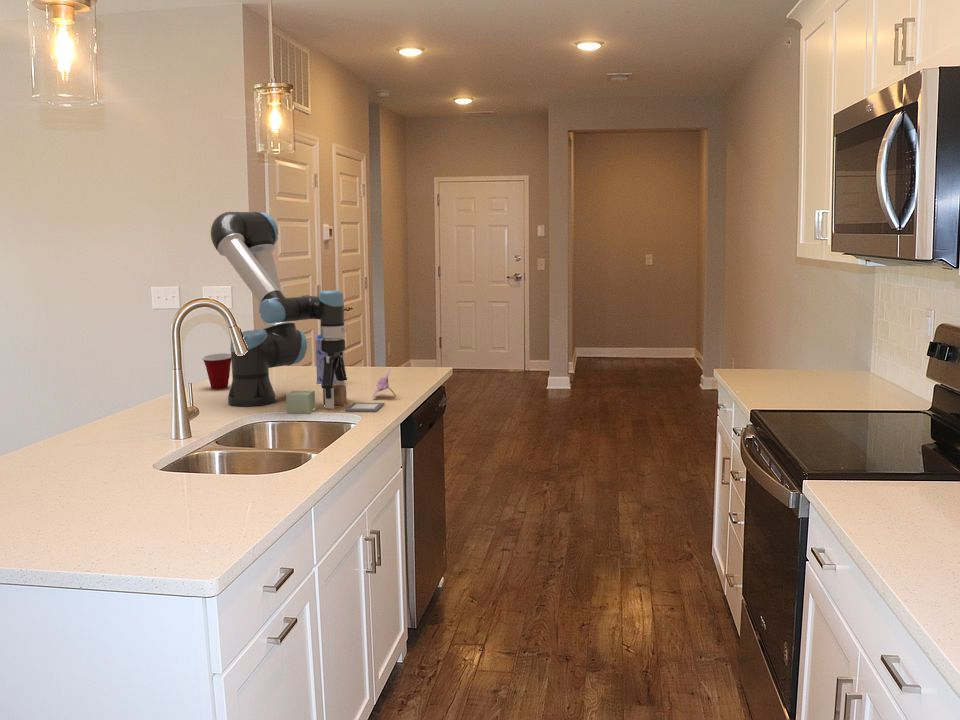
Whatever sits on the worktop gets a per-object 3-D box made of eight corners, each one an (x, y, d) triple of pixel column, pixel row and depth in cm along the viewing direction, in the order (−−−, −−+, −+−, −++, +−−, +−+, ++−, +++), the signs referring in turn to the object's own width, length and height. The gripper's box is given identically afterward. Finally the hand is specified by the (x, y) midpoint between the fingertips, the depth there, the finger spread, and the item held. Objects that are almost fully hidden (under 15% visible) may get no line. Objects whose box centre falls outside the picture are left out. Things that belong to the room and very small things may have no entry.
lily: (381, 396, 308) (367, 373, 304) (410, 384, 304) (396, 361, 301) (373, 413, 297) (358, 390, 294) (402, 401, 293) (388, 377, 290)
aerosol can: (342, 383, 328) (340, 329, 325) (325, 386, 322) (323, 331, 320) (329, 381, 333) (327, 328, 331) (312, 383, 328) (310, 329, 325)
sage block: (286, 413, 275) (285, 394, 274) (293, 409, 281) (292, 390, 281) (308, 413, 274) (308, 394, 273) (315, 409, 281) (314, 390, 280)
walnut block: (323, 406, 284) (322, 388, 284) (328, 403, 290) (328, 385, 290) (341, 407, 284) (341, 388, 283) (346, 403, 290) (346, 385, 289)
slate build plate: (344, 411, 276) (344, 409, 276) (354, 404, 287) (354, 402, 287) (376, 412, 274) (376, 410, 274) (384, 404, 286) (384, 402, 286)
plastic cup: (197, 389, 318) (195, 356, 316) (215, 384, 328) (213, 352, 326) (223, 391, 314) (221, 357, 313) (240, 386, 324) (239, 353, 323)
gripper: (333, 343, 271) (336, 412, 274) (354, 334, 296) (356, 397, 299) (310, 343, 272) (312, 411, 275) (332, 334, 297) (334, 397, 300)
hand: (335, 404), depth 287 cm, fingers open, 13 cm apart
